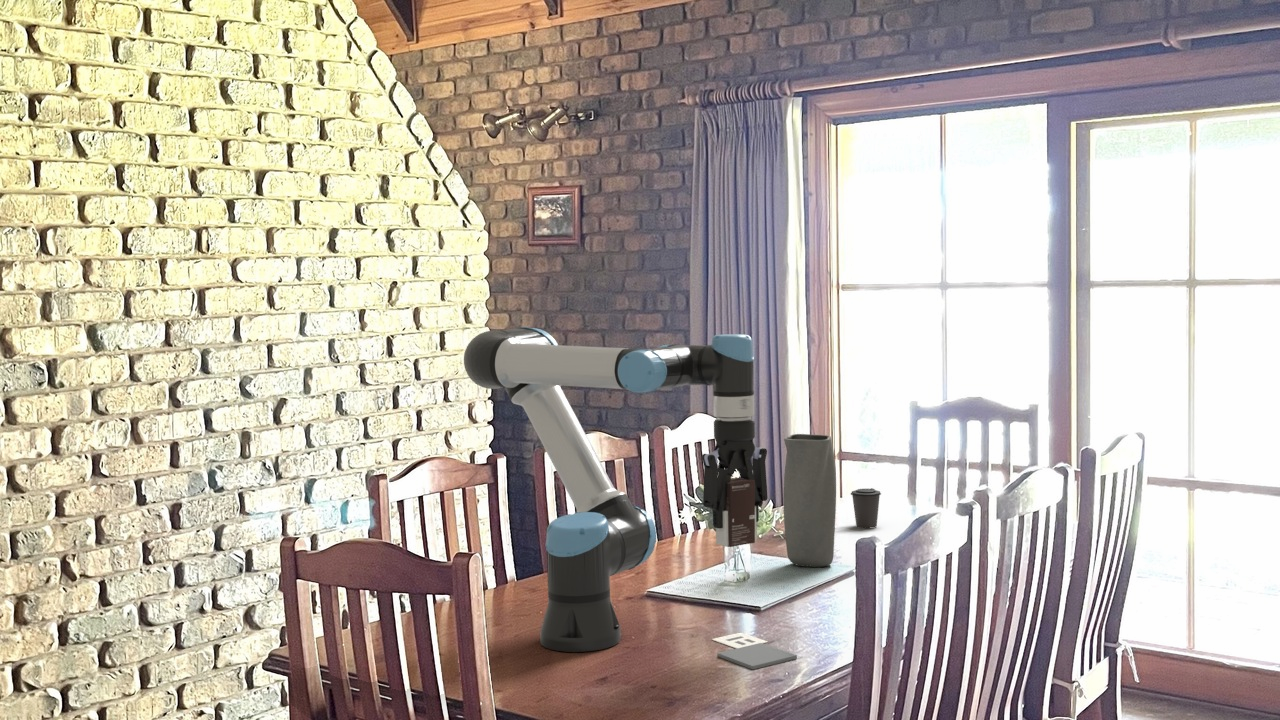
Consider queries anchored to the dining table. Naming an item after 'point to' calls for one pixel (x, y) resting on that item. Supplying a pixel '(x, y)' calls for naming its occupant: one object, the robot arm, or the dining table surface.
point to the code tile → (739, 640)
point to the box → (740, 511)
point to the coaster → (757, 656)
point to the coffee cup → (866, 507)
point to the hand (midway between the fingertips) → (736, 542)
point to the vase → (809, 499)
